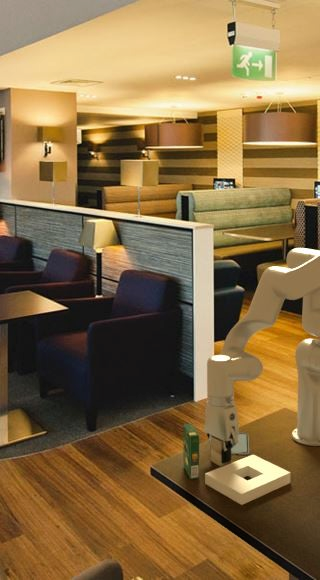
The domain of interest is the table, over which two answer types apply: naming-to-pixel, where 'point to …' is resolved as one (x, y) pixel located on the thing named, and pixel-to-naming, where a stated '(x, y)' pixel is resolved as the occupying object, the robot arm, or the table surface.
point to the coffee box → (191, 451)
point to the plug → (217, 450)
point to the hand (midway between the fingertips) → (220, 458)
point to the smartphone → (241, 445)
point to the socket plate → (241, 490)
